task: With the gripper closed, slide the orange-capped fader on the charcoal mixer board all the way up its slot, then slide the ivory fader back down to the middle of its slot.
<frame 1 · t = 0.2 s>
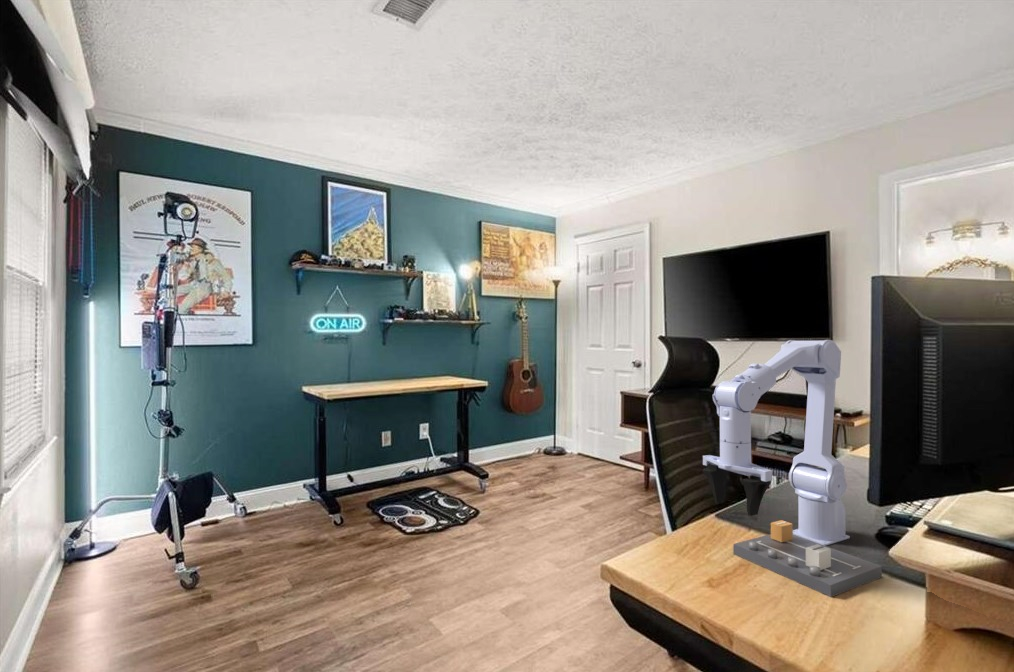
hand: (735, 508, 98), 10 cm above the table, fingers open, 7 cm apart
mixer board: (803, 564, 95), on the table
fader a: (781, 530, 102), point 4 cm above the table, slide at 0.0 cm
fader b: (818, 556, 89), point 4 cm above the table, slide at 11.0 cm
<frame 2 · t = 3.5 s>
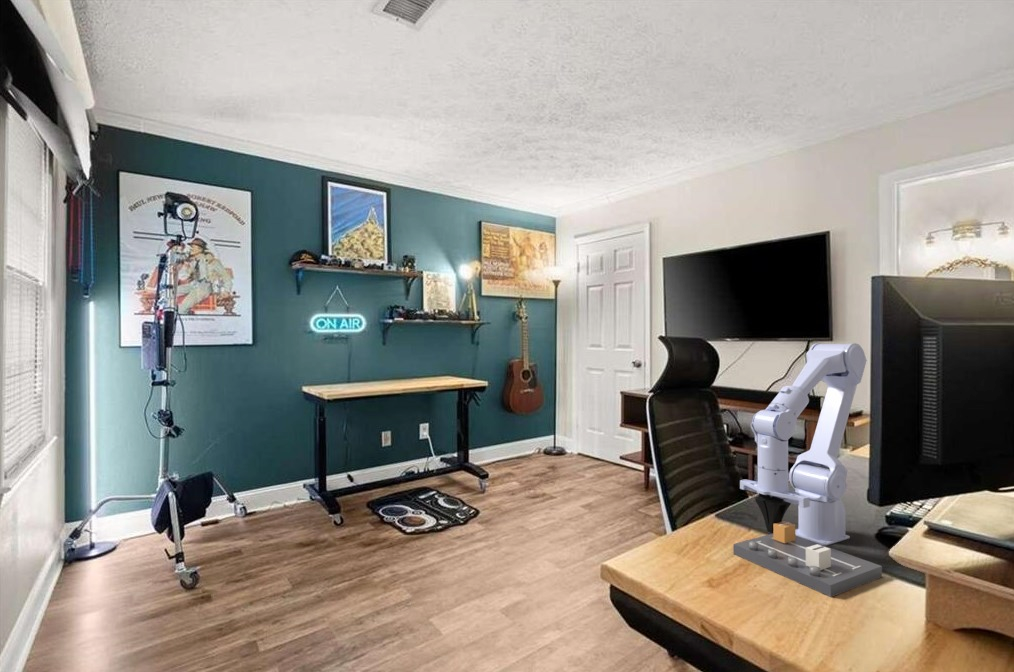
hand: (773, 531, 104), 3 cm above the table, fingers closed
fader a: (784, 531, 101), point 4 cm above the table, slide at 0.6 cm, touching gripper
everything else where it was.
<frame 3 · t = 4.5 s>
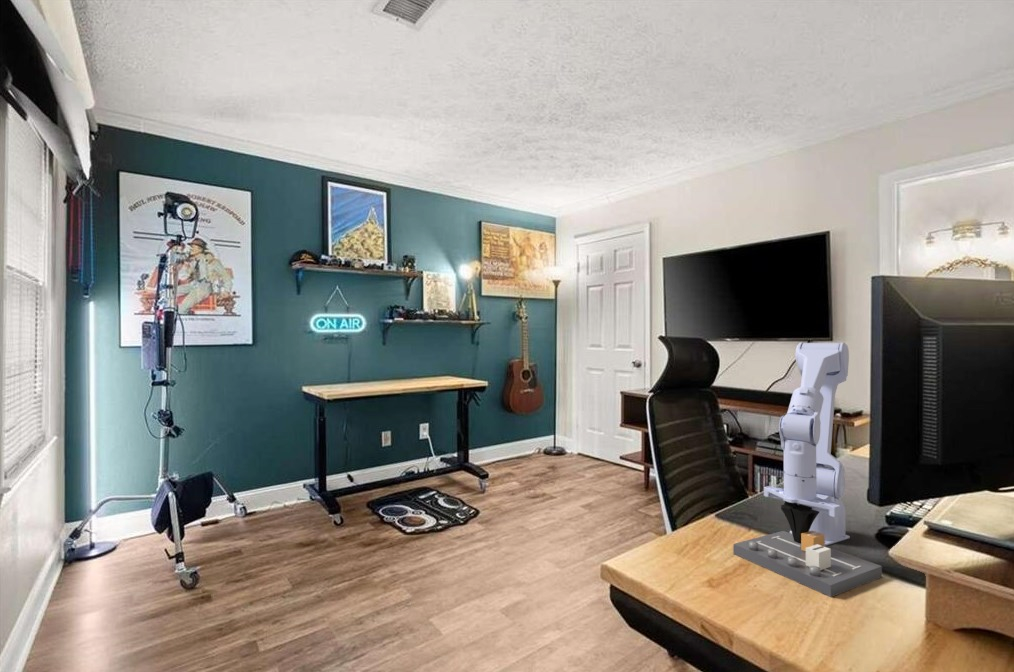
hand: (800, 541, 98), 3 cm above the table, fingers closed
fader a: (812, 542, 96), point 4 cm above the table, slide at 6.5 cm, touching gripper
everything else where it was.
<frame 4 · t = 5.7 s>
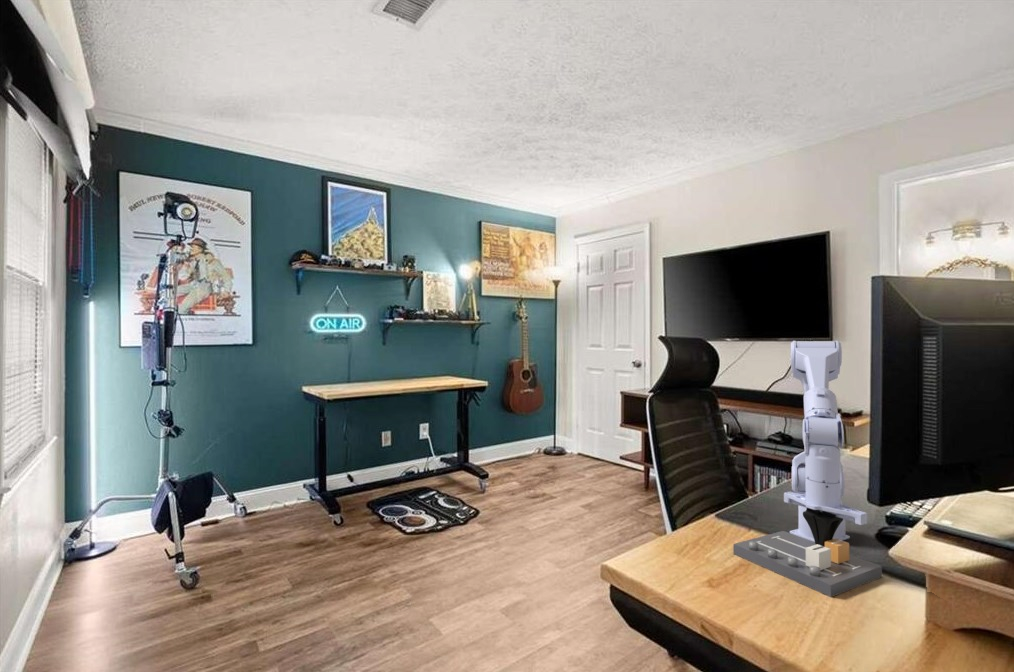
hand: (823, 550, 94), 3 cm above the table, fingers closed
fader a: (836, 550, 92), point 4 cm above the table, slide at 10.9 cm, touching gripper
everything else where it was.
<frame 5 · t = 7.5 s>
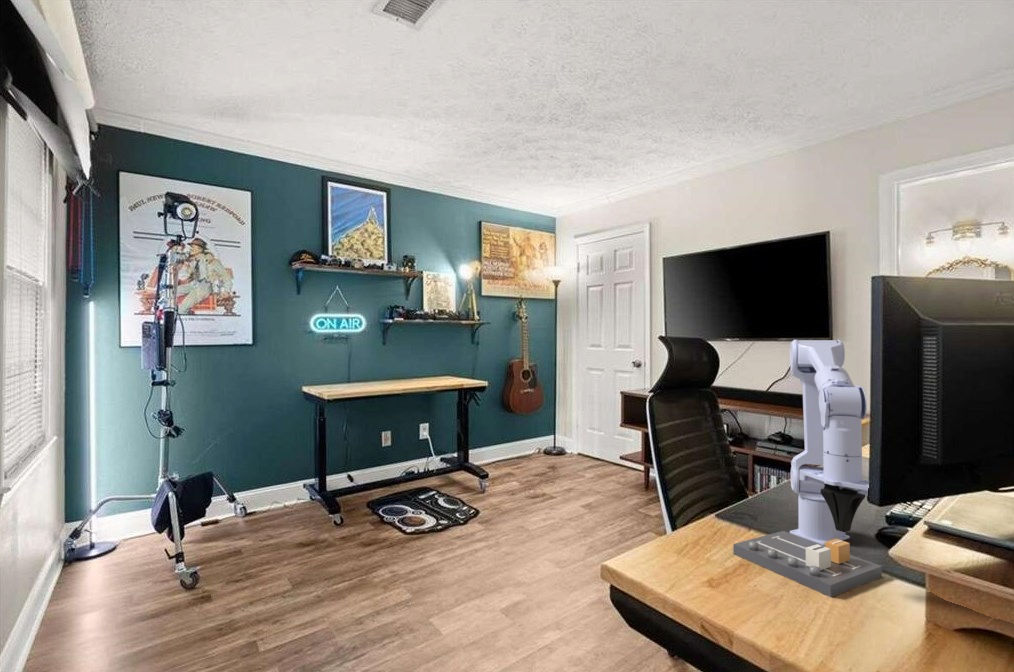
hand: (843, 530, 87), 10 cm above the table, fingers closed
fader a: (837, 550, 92), point 4 cm above the table, slide at 11.0 cm
everything else where it was.
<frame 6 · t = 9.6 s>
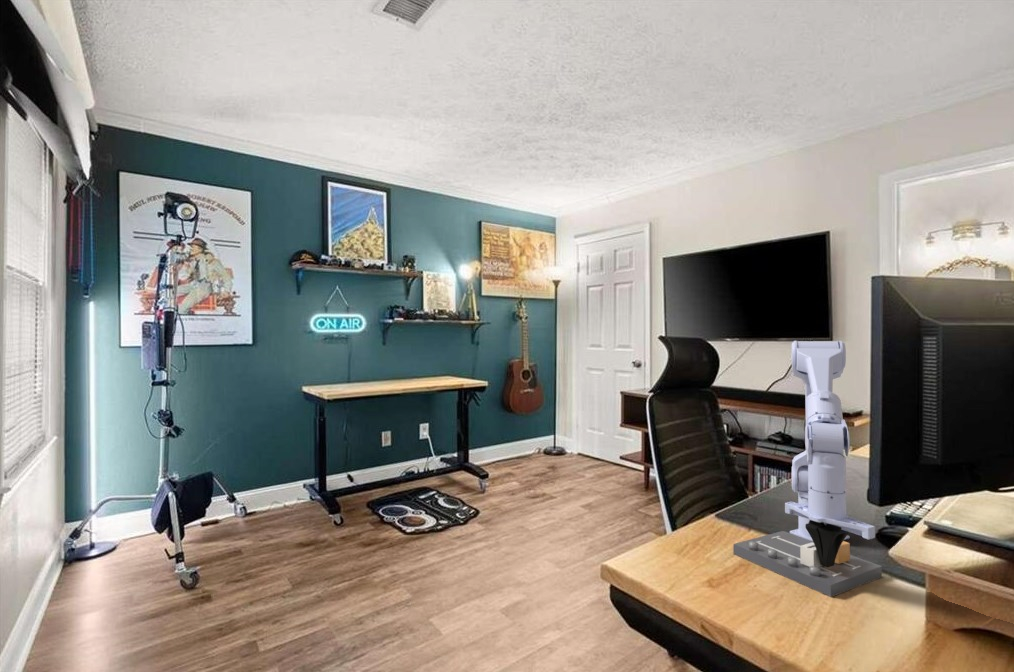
hand: (827, 565, 88), 3 cm above the table, fingers closed
fader b: (812, 554, 90), point 4 cm above the table, slide at 10.0 cm, touching gripper
everything else where it was.
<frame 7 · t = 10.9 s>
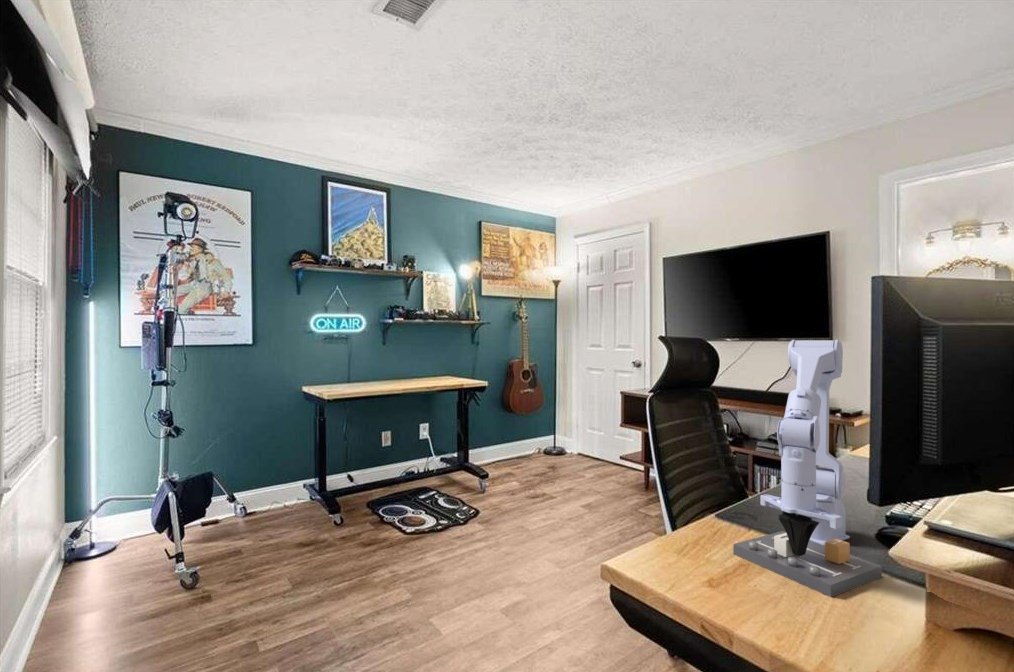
hand: (798, 554, 92), 3 cm above the table, fingers closed
fader b: (786, 544, 95), point 4 cm above the table, slide at 4.9 cm, touching gripper
everything else where it was.
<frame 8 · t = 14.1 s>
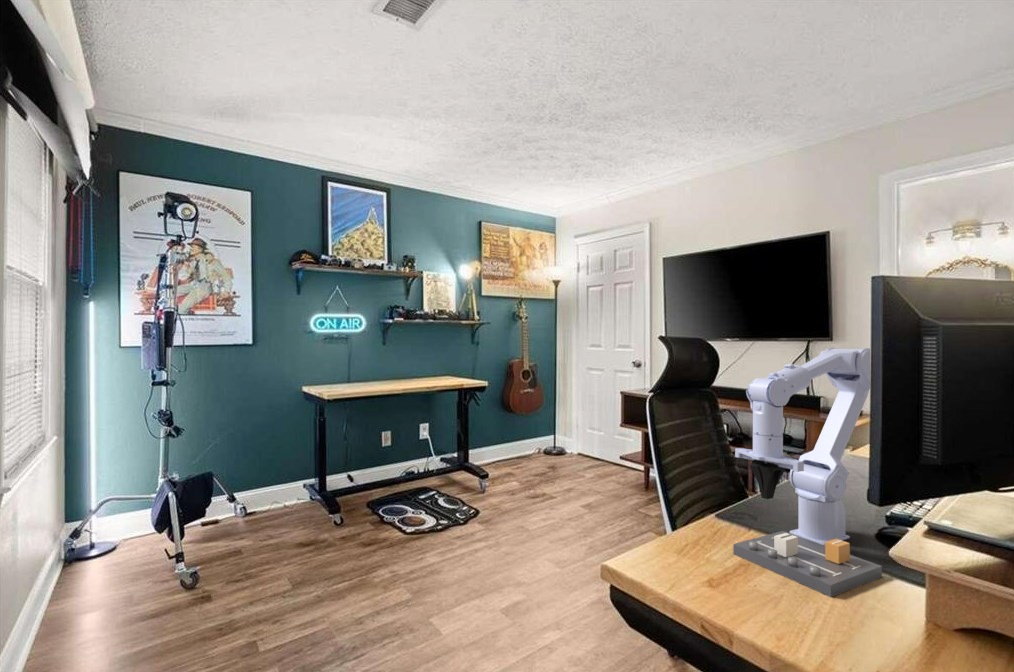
hand: (767, 497, 105), 10 cm above the table, fingers closed
fader b: (786, 544, 95), point 4 cm above the table, slide at 4.9 cm
everything else where it was.
at the end: fader a slide at 11.0 cm; fader b slide at 4.9 cm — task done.
